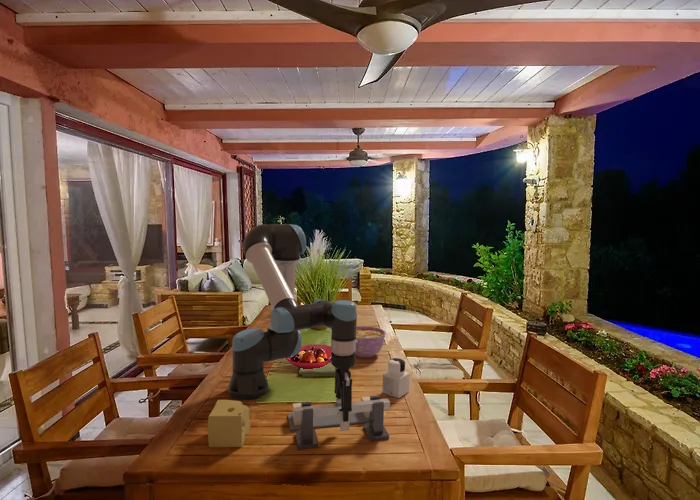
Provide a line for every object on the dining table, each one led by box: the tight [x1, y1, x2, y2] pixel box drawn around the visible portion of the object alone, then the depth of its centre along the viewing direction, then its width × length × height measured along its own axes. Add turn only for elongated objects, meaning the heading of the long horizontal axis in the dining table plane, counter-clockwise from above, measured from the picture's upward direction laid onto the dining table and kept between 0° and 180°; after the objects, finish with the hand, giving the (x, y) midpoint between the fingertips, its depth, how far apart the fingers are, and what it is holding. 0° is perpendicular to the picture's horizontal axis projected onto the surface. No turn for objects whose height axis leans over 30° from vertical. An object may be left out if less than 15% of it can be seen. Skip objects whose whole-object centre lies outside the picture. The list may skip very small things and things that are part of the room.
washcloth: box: [298, 362, 335, 378], centre depth 173 cm, size 13×18×3 cm
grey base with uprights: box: [287, 396, 370, 432], centre depth 134 cm, size 31×10×5 cm, turn 103°
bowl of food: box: [355, 325, 387, 359], centre depth 194 cm, size 20×20×12 cm
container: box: [381, 357, 411, 399], centre depth 153 cm, size 8×8×13 cm
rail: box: [292, 398, 391, 419], centre depth 122 cm, size 30×2×2 cm, turn 103°
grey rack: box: [295, 395, 390, 451], centre depth 122 cm, size 28×8×11 cm, turn 103°
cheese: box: [207, 399, 251, 448], centre depth 120 cm, size 10×11×10 cm
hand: (342, 424), depth 122 cm, fingers open, 6 cm apart
